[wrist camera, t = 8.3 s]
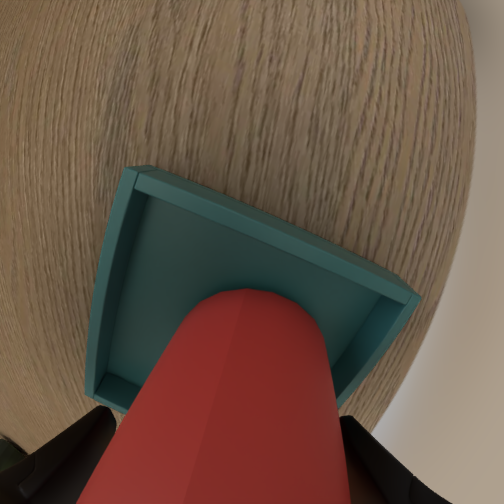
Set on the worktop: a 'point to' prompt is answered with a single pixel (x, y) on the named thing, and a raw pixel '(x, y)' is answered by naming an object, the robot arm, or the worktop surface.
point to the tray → (224, 282)
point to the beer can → (231, 414)
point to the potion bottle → (8, 455)
